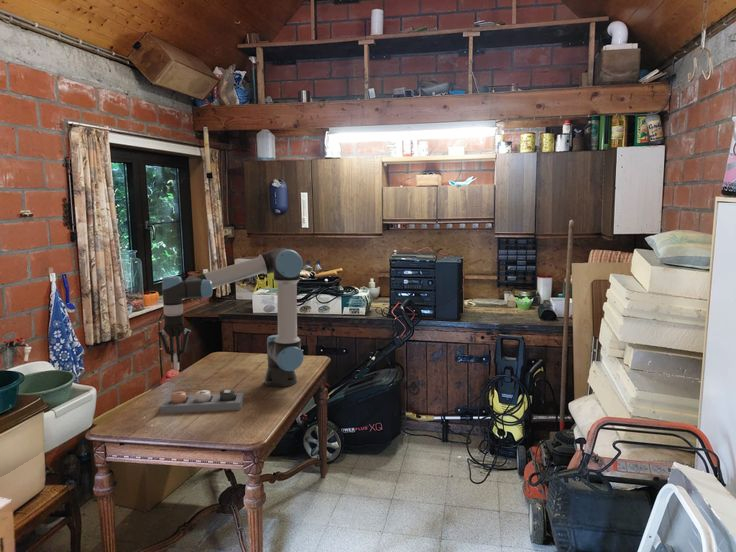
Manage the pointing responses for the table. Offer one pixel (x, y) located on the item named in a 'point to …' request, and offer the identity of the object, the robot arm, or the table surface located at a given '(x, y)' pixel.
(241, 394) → the panel
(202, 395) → the button white
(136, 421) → the table surface
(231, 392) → the button black
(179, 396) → the button terracotta
